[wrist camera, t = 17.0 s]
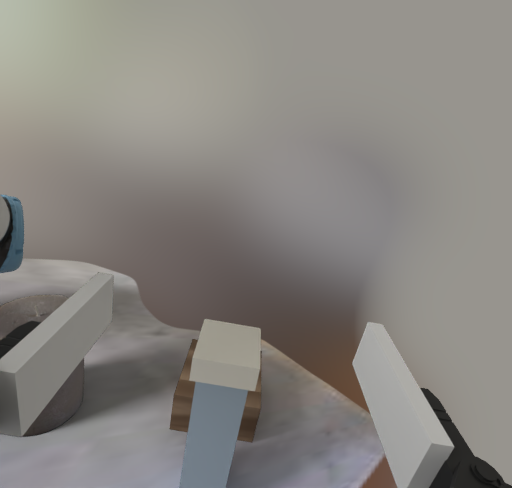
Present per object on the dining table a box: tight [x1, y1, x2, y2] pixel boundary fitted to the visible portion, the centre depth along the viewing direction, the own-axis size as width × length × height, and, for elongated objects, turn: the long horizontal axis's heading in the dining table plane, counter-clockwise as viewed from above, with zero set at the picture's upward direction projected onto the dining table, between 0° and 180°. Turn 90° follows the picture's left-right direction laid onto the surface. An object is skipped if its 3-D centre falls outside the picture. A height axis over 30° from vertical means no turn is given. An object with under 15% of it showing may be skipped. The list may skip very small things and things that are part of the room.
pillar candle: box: [0, 295, 84, 436], centre depth 39 cm, size 10×10×15 cm
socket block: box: [170, 339, 261, 442], centre depth 46 cm, size 11×11×6 cm
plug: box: [179, 319, 261, 488], centre depth 32 cm, size 6×6×20 cm
